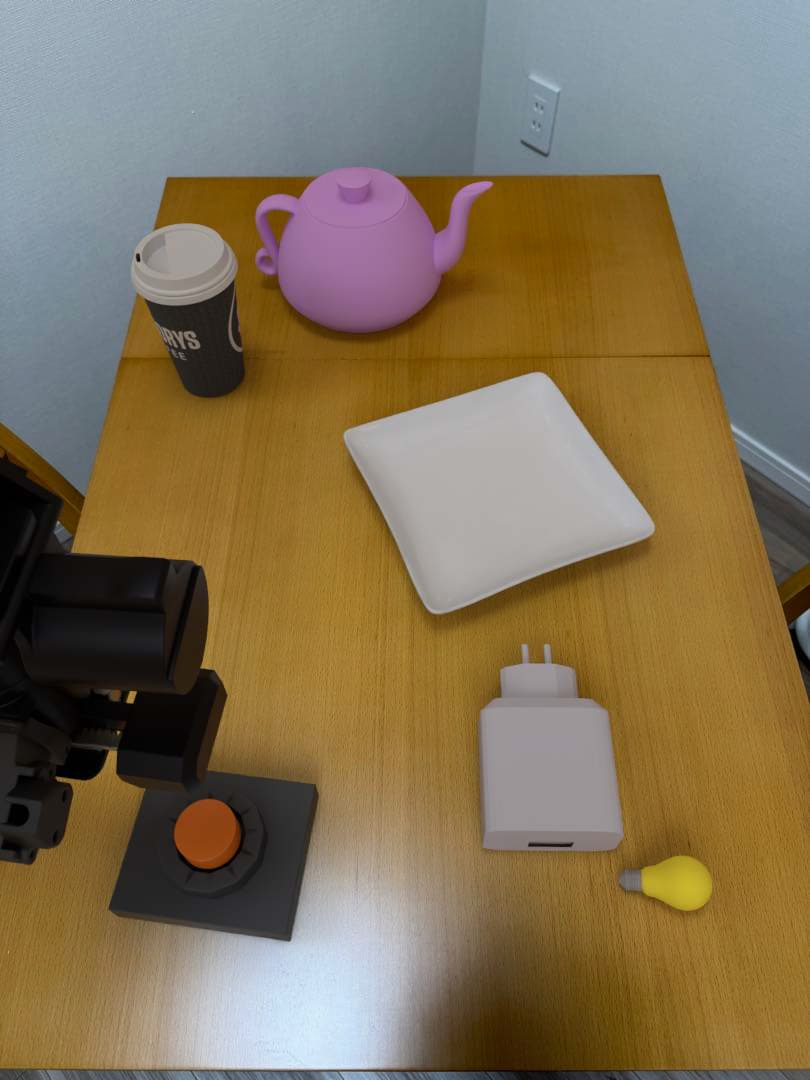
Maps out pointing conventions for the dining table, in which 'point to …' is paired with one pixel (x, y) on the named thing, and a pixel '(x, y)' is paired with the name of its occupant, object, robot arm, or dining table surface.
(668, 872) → the light bulb
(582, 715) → the charger
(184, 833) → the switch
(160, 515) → the dining table surface
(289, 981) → the dining table surface
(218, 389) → the coffee cup
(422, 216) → the teapot
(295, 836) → the switch base
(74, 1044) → the dining table surface
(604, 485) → the plate
